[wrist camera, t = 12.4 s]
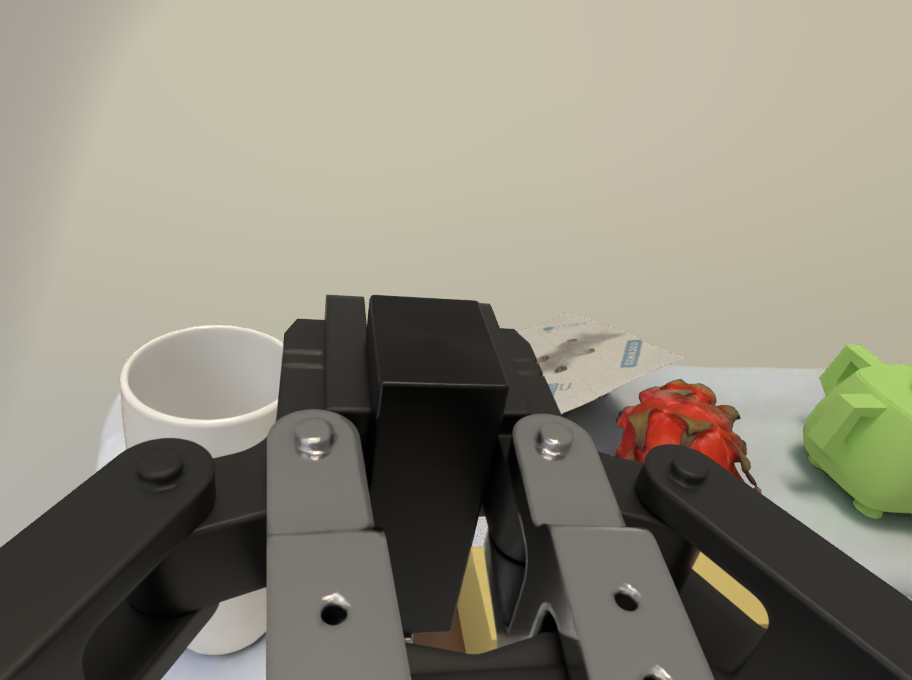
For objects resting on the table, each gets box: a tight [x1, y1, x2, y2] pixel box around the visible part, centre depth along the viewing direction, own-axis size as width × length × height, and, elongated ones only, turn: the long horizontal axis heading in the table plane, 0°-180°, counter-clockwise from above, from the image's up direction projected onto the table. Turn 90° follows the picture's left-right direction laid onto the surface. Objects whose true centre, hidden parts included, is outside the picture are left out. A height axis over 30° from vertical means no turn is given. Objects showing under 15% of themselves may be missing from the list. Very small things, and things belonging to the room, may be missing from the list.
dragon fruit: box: [615, 379, 761, 494], centre depth 44 cm, size 8×8×12 cm
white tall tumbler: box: [120, 325, 283, 655], centre depth 30 cm, size 7×7×15 cm
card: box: [517, 312, 684, 414], centre depth 53 cm, size 11×15×5 cm
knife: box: [365, 295, 510, 643], centre depth 14 cm, size 2×3×14 cm
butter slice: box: [457, 547, 497, 654], centre depth 32 cm, size 4×5×4 cm
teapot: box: [803, 344, 912, 519], centre depth 49 cm, size 12×12×10 cm
